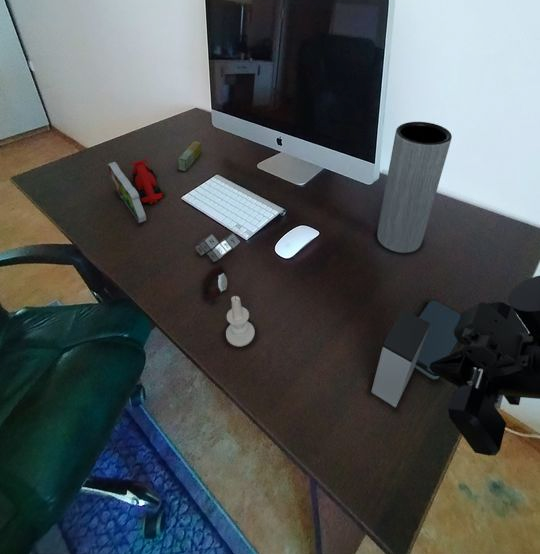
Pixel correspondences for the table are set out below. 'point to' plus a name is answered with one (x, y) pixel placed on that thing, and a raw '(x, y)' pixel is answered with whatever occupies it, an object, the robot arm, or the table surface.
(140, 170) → the toy car
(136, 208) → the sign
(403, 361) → the box with lid
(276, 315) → the table surface
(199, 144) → the medication box
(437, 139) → the planter
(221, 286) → the watch
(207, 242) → the building blocks
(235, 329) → the candle
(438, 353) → the smartphone
